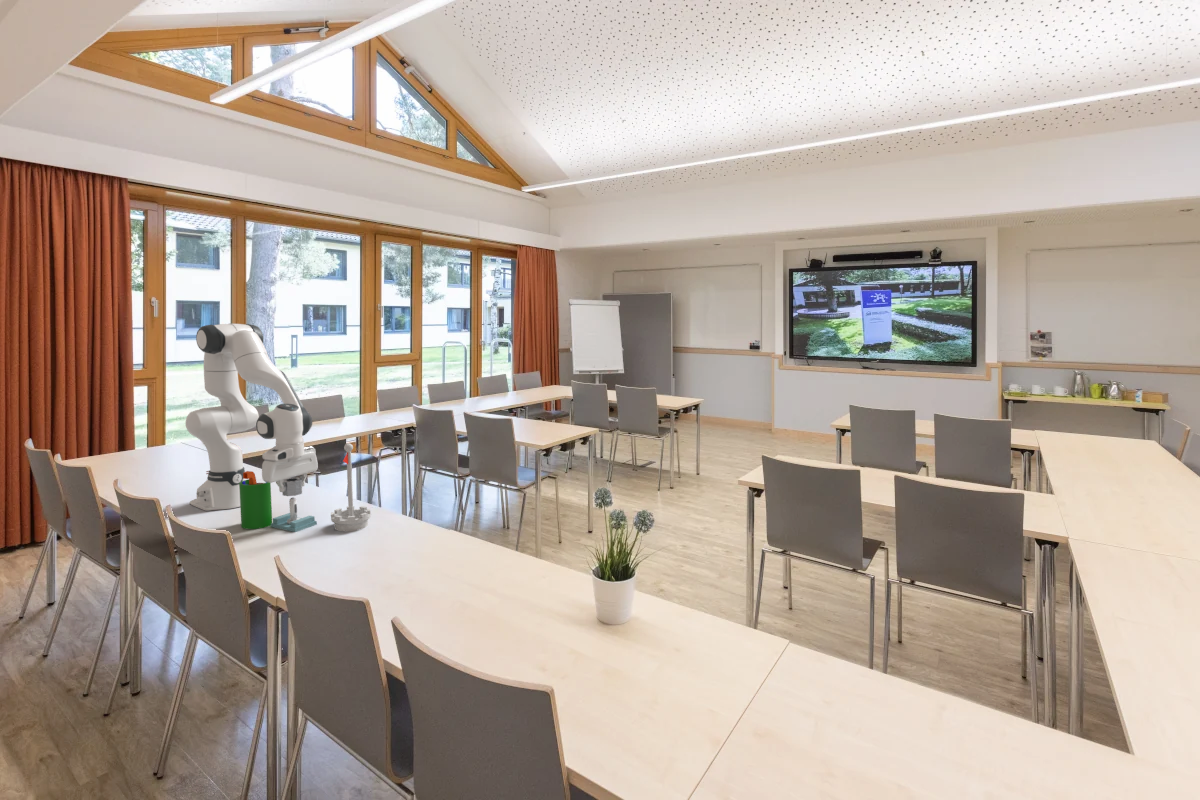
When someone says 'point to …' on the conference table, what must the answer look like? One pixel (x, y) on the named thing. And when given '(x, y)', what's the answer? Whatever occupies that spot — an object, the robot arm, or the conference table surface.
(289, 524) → the shaft block
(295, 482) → the hub
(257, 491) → the green cup
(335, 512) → the flag stand
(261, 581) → the conference table surface
